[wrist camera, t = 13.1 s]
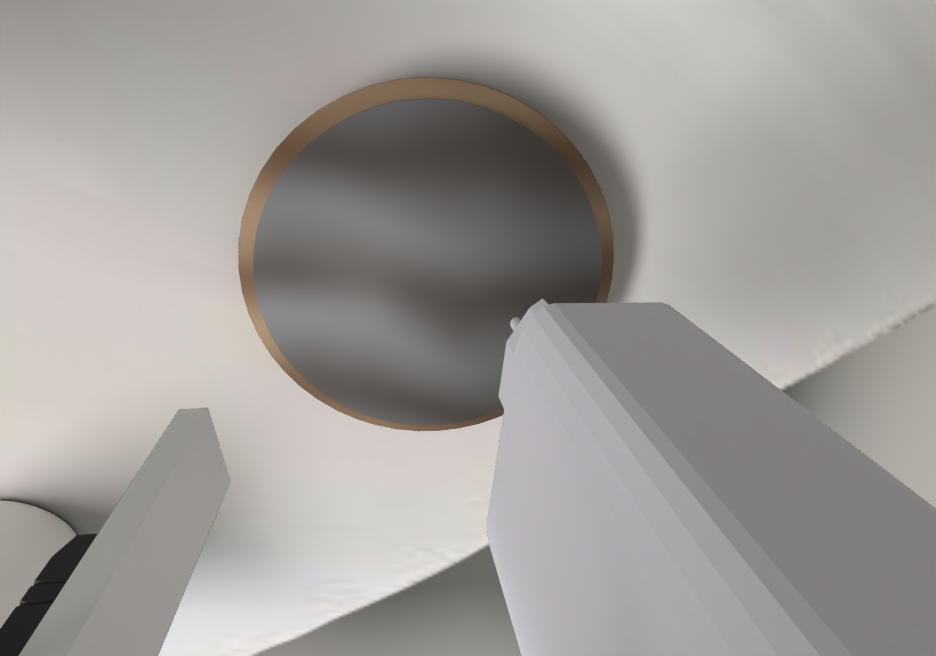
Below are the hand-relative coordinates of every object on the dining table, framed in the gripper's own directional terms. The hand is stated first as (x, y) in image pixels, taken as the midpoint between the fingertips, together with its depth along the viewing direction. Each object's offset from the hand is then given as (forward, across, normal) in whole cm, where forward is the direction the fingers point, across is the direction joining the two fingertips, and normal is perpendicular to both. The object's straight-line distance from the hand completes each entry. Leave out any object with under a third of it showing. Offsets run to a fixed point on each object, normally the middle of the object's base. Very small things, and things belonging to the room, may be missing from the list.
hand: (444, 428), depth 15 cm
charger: (+6, +3, 0) cm, 7 cm away
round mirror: (+14, 0, 0) cm, 14 cm away
